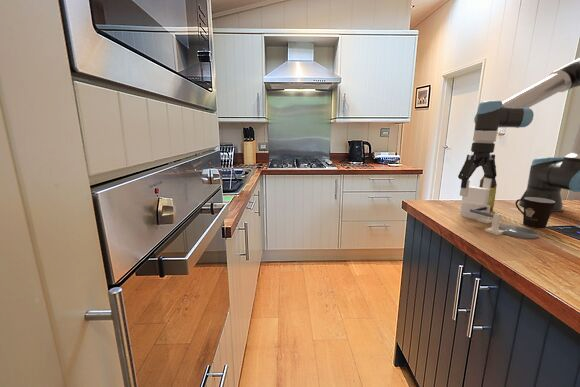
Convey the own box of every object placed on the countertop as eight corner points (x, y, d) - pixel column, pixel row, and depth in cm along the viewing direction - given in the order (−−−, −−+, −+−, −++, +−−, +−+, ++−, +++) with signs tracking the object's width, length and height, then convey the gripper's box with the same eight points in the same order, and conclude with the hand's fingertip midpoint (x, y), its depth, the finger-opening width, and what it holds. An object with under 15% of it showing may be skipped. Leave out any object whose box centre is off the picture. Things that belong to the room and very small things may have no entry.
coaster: (507, 224, 106) (508, 223, 106) (546, 235, 95) (546, 234, 95) (487, 229, 101) (487, 227, 101) (525, 241, 91) (525, 239, 90)
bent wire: (485, 208, 109) (485, 206, 109) (512, 215, 101) (513, 212, 100) (469, 211, 105) (469, 208, 105) (495, 218, 97) (496, 215, 97)
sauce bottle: (496, 211, 123) (504, 166, 119) (481, 211, 123) (489, 166, 119) (486, 207, 129) (493, 164, 125) (472, 207, 130) (479, 164, 125)
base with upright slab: (489, 216, 116) (494, 188, 113) (479, 220, 111) (484, 190, 108) (465, 211, 123) (469, 184, 121) (455, 214, 118) (459, 186, 116)
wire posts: (474, 218, 113) (477, 203, 112) (491, 220, 111) (493, 204, 110) (486, 233, 97) (490, 215, 95) (506, 236, 95) (510, 217, 93)
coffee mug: (555, 230, 100) (561, 203, 98) (527, 228, 102) (533, 202, 100) (534, 220, 111) (539, 196, 109) (510, 219, 113) (514, 194, 111)
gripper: (493, 141, 119) (484, 191, 124) (453, 141, 109) (445, 194, 114) (513, 142, 112) (503, 194, 117) (472, 142, 102) (462, 199, 107)
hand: (474, 194), depth 115 cm, fingers open, 13 cm apart
